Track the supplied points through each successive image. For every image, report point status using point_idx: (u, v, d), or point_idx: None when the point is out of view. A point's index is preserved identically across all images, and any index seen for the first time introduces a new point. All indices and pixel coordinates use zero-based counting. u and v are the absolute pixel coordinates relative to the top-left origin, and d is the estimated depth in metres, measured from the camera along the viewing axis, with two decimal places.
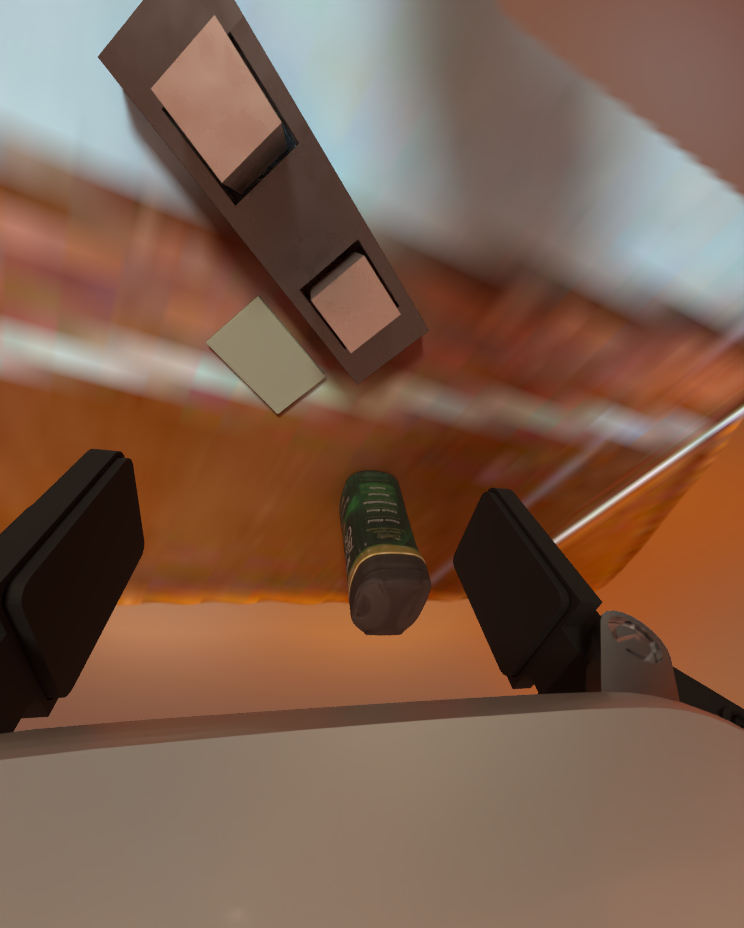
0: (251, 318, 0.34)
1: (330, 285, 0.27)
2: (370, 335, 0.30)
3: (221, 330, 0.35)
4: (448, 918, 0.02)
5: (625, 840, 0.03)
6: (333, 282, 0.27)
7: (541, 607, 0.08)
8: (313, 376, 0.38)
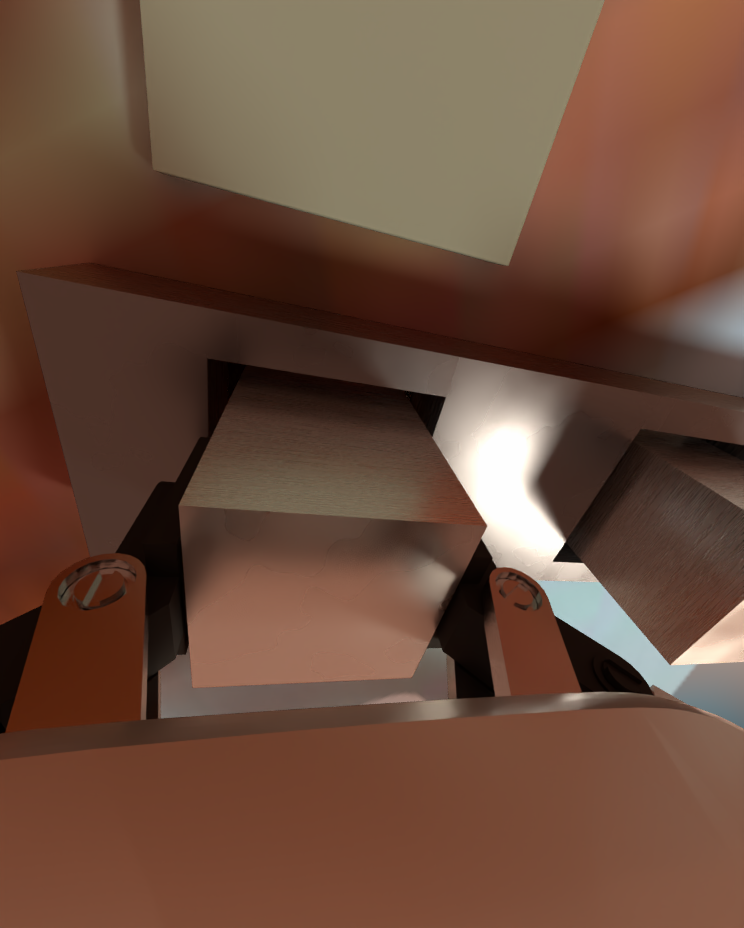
0: (502, 180, 0.10)
1: (449, 593, 0.07)
2: (196, 601, 0.06)
3: (586, 36, 0.09)
4: (448, 918, 0.02)
5: (625, 840, 0.03)
6: (445, 602, 0.08)
7: None
8: (188, 127, 0.08)
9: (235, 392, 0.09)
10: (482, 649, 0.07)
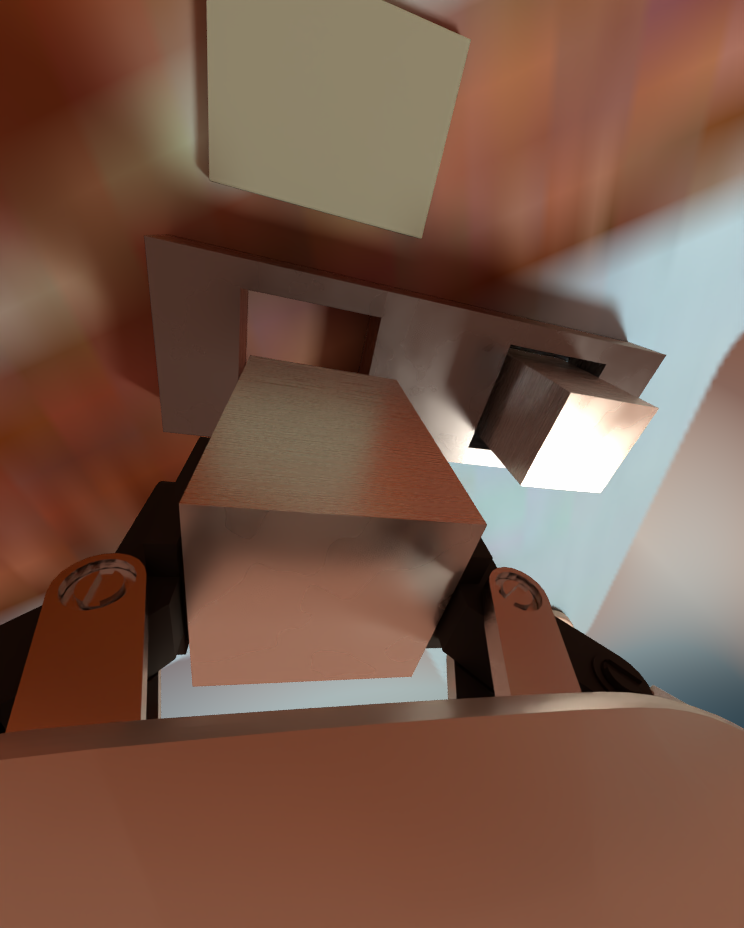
0: (411, 186, 0.17)
1: (449, 591, 0.07)
2: (196, 599, 0.06)
3: (451, 106, 0.15)
4: (448, 918, 0.02)
5: (625, 840, 0.03)
6: (445, 600, 0.08)
7: None
8: (230, 157, 0.15)
9: (235, 391, 0.09)
10: (482, 650, 0.07)
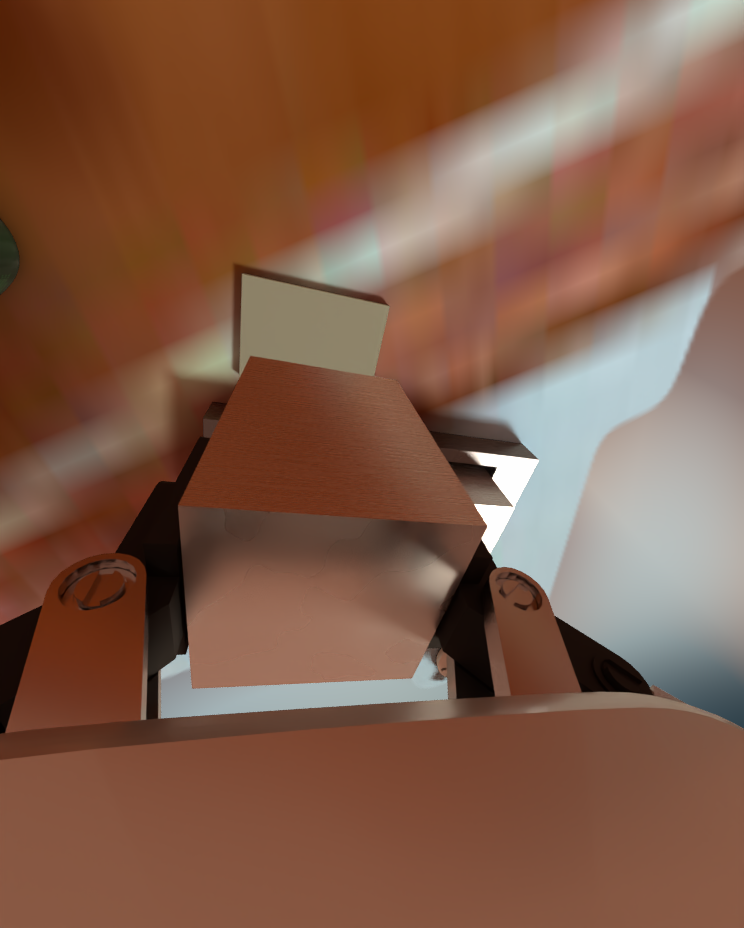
0: (360, 373, 0.28)
1: (450, 593, 0.07)
2: (195, 601, 0.06)
3: (381, 335, 0.26)
4: (447, 918, 0.02)
5: (625, 840, 0.03)
6: (446, 602, 0.08)
7: None
8: None
9: (235, 392, 0.09)
10: (482, 649, 0.07)
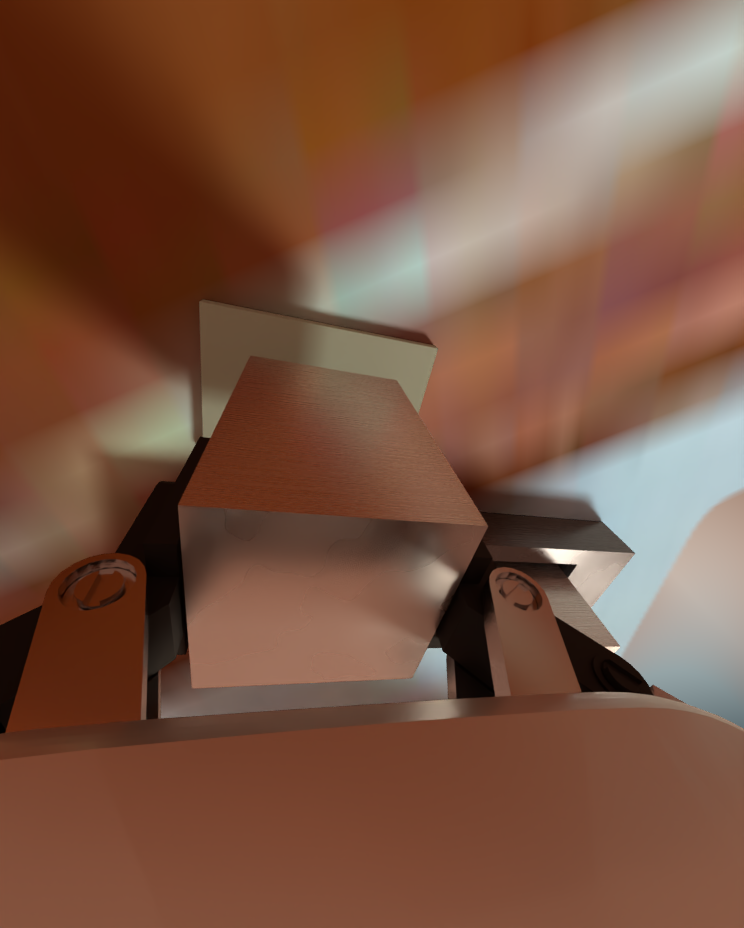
0: None
1: (450, 593, 0.07)
2: (195, 601, 0.06)
3: (422, 390, 0.17)
4: (448, 918, 0.02)
5: (625, 840, 0.03)
6: (446, 602, 0.08)
7: None
8: None
9: (235, 392, 0.09)
10: (482, 649, 0.07)
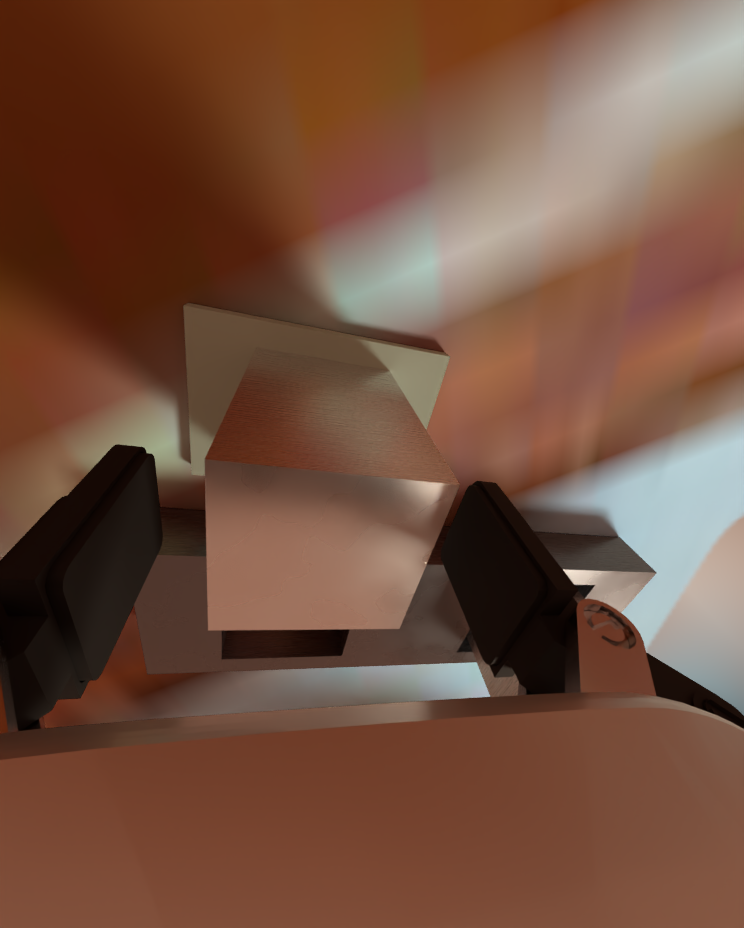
0: None
1: (430, 546, 0.09)
2: (214, 546, 0.08)
3: (432, 402, 0.15)
4: (448, 919, 0.02)
5: (625, 840, 0.03)
6: (427, 555, 0.09)
7: (520, 596, 0.08)
8: None
9: (244, 376, 0.10)
10: None
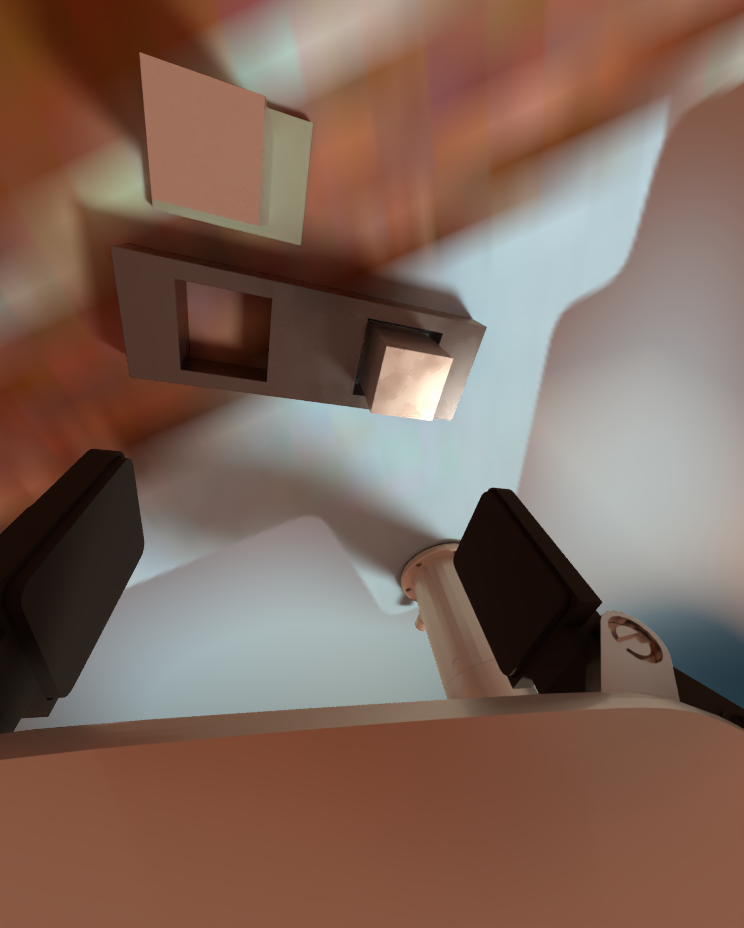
0: (288, 211, 0.26)
1: (260, 147, 0.18)
2: (149, 121, 0.16)
3: (307, 162, 0.24)
4: (448, 918, 0.02)
5: (625, 840, 0.03)
6: (260, 155, 0.18)
7: (541, 607, 0.07)
8: None
9: None
10: None
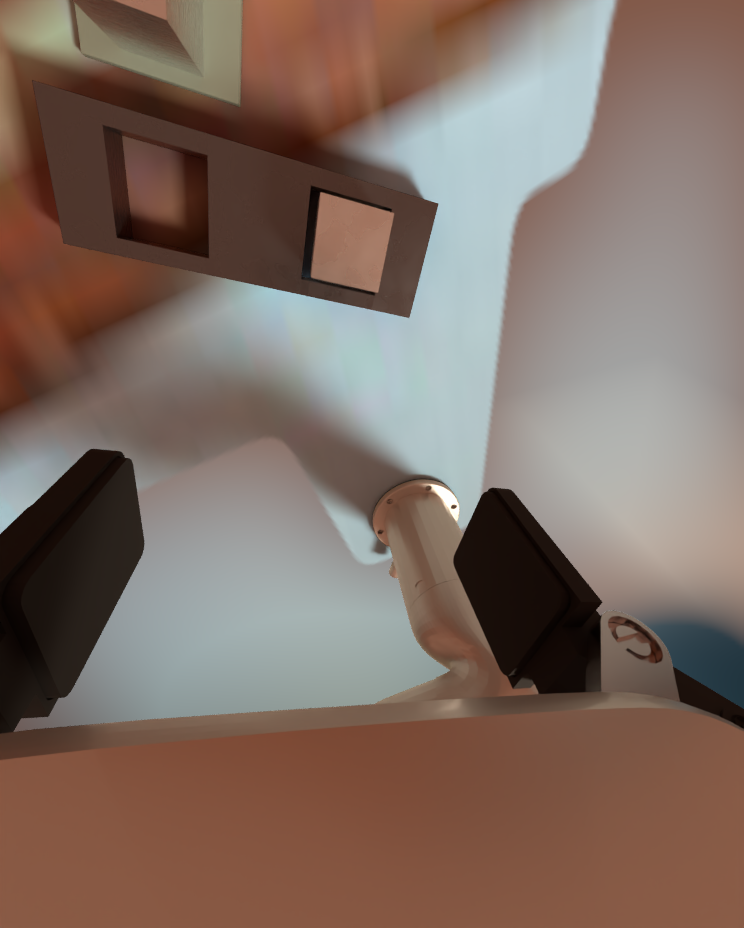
0: (223, 63, 0.25)
1: None
2: None
3: (239, 4, 0.24)
4: (447, 918, 0.02)
5: (625, 840, 0.03)
6: None
7: (541, 607, 0.08)
8: (93, 36, 0.23)
9: None
10: None
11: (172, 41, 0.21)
